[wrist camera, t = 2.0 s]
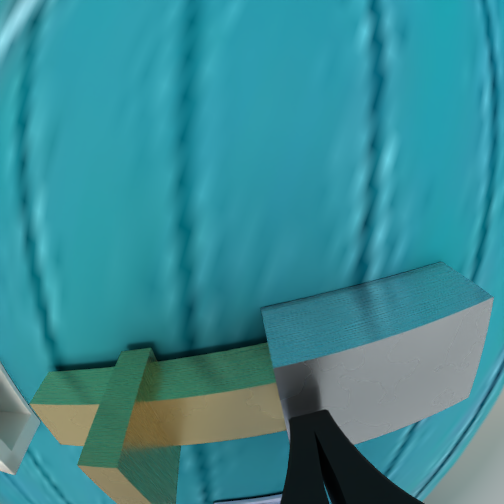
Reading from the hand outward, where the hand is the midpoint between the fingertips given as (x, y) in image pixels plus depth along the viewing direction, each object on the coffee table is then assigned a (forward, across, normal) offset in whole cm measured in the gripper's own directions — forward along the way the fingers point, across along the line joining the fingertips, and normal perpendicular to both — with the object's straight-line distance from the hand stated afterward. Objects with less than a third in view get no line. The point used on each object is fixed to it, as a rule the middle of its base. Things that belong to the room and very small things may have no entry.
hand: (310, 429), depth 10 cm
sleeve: (+5, -4, 0) cm, 6 cm away
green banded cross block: (+5, +2, 0) cm, 5 cm away
